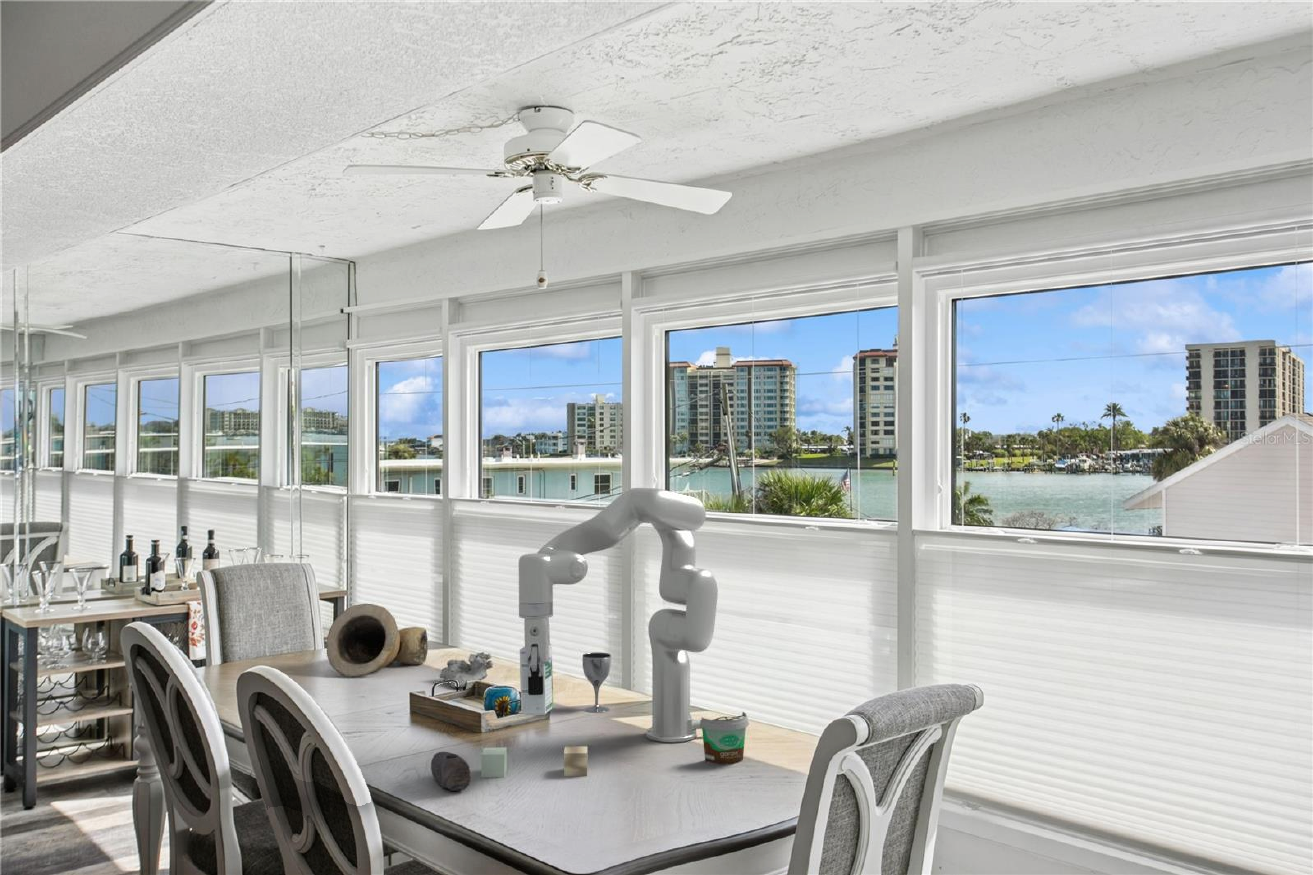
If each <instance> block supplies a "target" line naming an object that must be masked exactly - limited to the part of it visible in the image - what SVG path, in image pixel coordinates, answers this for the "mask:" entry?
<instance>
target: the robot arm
mask: <svg viewBox="0 0 1313 875" xmlns="http://www.w3.org/2000/svg"><path fill="white" fill-rule="evenodd" d="M705 507H706V506H704V503H703V502H702V501H701V500H700V499H698V498H697V497H694V496H689V495H687V494H681V493H678V492H674V491H670V490H666V489H662V488H656V487H655V488H652V487H651V488H650V487H632V488H629V489H627V490H625V491H624V492H623V493H621V494H620V495H619V496H618V497H616V498H615V499H614V500H613V501H611V503H609V504H608V505H607V506H605V508H603V509H602V510H601V511H599V512H598V513H597V514H596V515H594V516H593V517H592V518H589V519H587V520H585V521H582V522H581V523H579V524H577V525H575V526H572V527H570V528H568V529H565V531H562V532H560V533H558V534H557V535H556V536H554V537H553V538H552V539H551V540H549V541H548V542H546V543H545V544H544V545H543V546H542V547H541V548H539V550H538V551H537V552H536V553H526V554H522V555H520V557H519V559H518V617H519V619H524V620H523V621H524V622H523V623H524V629H523V630H524V647H525V656H526V662H527V663H528V662H529V663H528V664H529V676H528V694H529V695H542V694H543V676H542V662H545V663H547V662H548V661H549V645H550V620H549V618H551V617H554V601H553V600H554V594H553V593H554V585H566V586H567V585H570V586H571V585H574V584H575V585H576V584H578V583H580V582H581V581H583V580H584V578H585V577H586V576H587V574H588V568H589V567H588V562H587V560H586V558H585V557H584V555H586V554H591V553H596V552H601V551H604V550H609V549H611V548H613V547H615V546H617V545H618V544H619V543H620V542H622V541H623V540H624V539H625V538H626V537H627V536H628V535H629V534H630V533H632V532H633V531H635V529H636V528H638V526H640V525H641V524H650V525H652V527H653V528H654V530H655V531H656V532H657V533H658V535H659V537H660V541H661V544H662V556H661V557H662V558H661V563H660V564H661V565H660V572H659V573H660V574H659V583H658V590H659V591H658V592H659V596H660V598H661V599H662V600H663V601H665V602H667V603H670V604H674V605H680V606H685V610H683V609H676V608H663V609H659V610H657V611H656V612H654V613H653V614H652V615H651V617H650V619H649V621H648V626H647V627H648V628H647V630H648V638H649V643H650V644H649V645H650V647H651V648H650V649H651V658H652V659H651V660H652V666H651V667H652V676H651V677H652V678H651V679H652V680H651V681H652V686H651V688H652V690H651V691H652V694H651V695H652V697H651V698H652V699H651V700H652V701H651V702H652V703H651V704H652V710H651V711H652V714H651V715H652V716H651V717H652V720H651V721H652V726H651V727H649V728H647V729H646V732H645V736H646V737H647V738H648V739H649V740H652V741H656V742H661V743H684V742H687V741H690V740H693V739H695V738H696V737H697V730H702V727H699V726H700V720H701V719H694V718H692V715H691V664H690V658H689V655H688V652H689V653H702V652H704V651H705V650H707V649H708V648H709V647H710V645H711V643H712V640H713V637H714V632H715V625H716V624H715V623H716V616H717V615H716V614H717V605H718V596H719V595H718V591H719V589H718V583H717V580H716V579H715V576H714V575H713V574H712V572H710V571H709V570H706V569H704V568H699V567H698V568H697V567H696V557H697V546H696V541H695V538H694V535H693V533H692V532H695V531H697V530H699V529H700V528H701V527H703V525H704V524H705V522H706V518H707V512H706V508H705ZM528 658H529V660H528ZM539 658H540V662H537V659H539ZM537 665H539V667H538V666H537Z"/></svg>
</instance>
